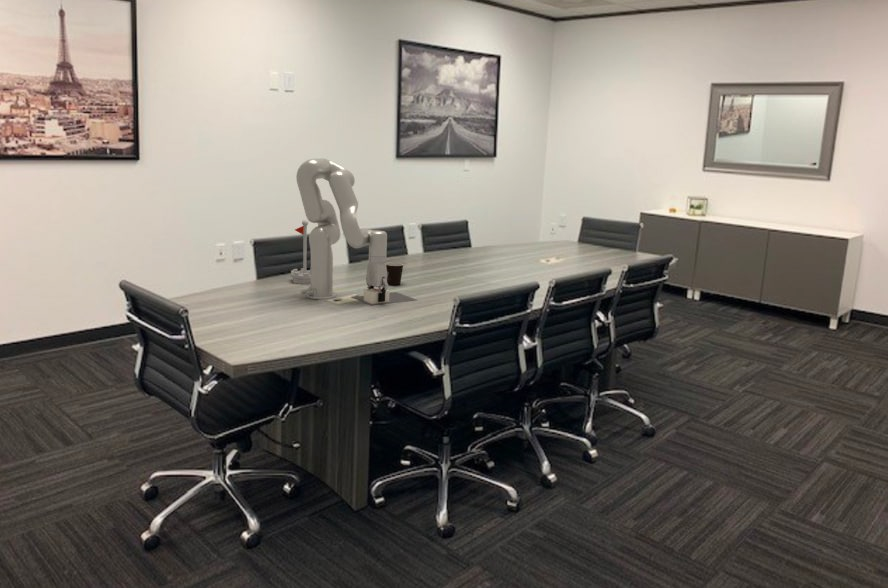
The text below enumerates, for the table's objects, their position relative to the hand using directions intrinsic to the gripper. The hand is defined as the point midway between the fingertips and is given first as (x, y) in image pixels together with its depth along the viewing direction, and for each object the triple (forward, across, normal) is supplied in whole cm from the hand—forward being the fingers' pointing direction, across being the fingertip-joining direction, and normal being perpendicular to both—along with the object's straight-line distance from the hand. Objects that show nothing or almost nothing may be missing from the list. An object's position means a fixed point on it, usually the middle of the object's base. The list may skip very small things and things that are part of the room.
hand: (376, 299), depth 314 cm
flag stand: (+2, -52, -8) cm, 53 cm away
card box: (+1, 0, 0) cm, 1 cm away
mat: (+1, -3, +6) cm, 7 cm away
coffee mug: (+2, -30, +29) cm, 42 cm away
